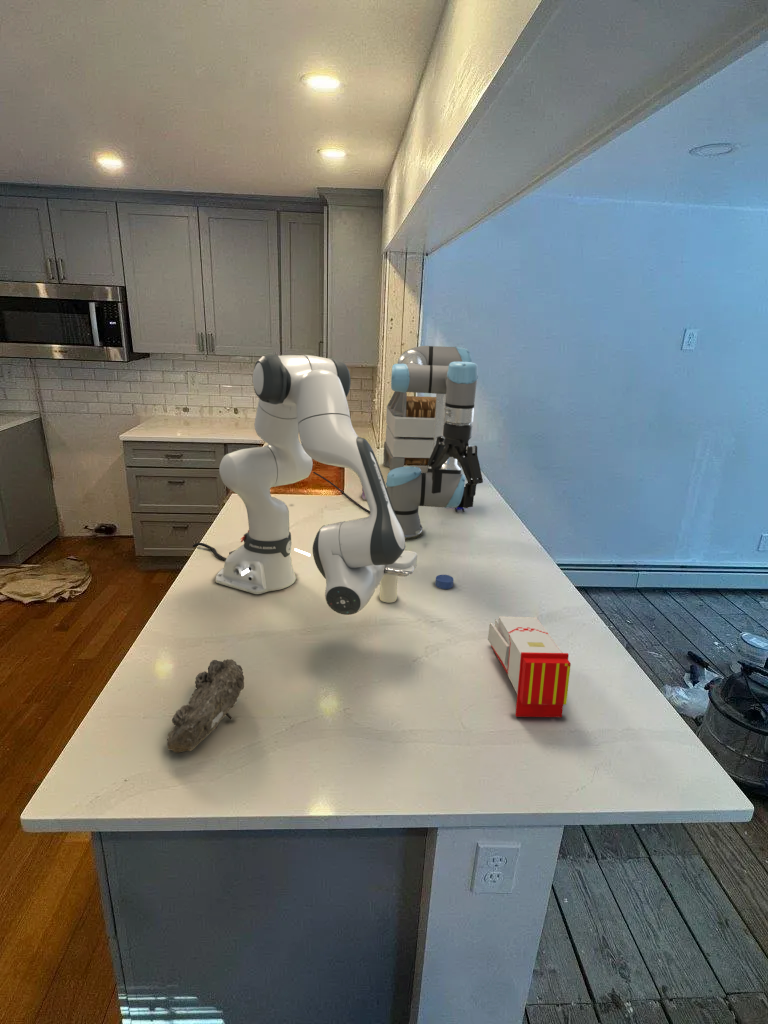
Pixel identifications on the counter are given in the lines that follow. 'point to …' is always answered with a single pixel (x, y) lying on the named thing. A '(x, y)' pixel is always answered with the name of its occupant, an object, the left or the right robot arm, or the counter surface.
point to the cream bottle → (388, 588)
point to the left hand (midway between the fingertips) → (380, 545)
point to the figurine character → (461, 503)
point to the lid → (444, 581)
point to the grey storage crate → (409, 431)
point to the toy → (531, 665)
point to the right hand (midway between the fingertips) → (451, 499)
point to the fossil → (206, 705)
